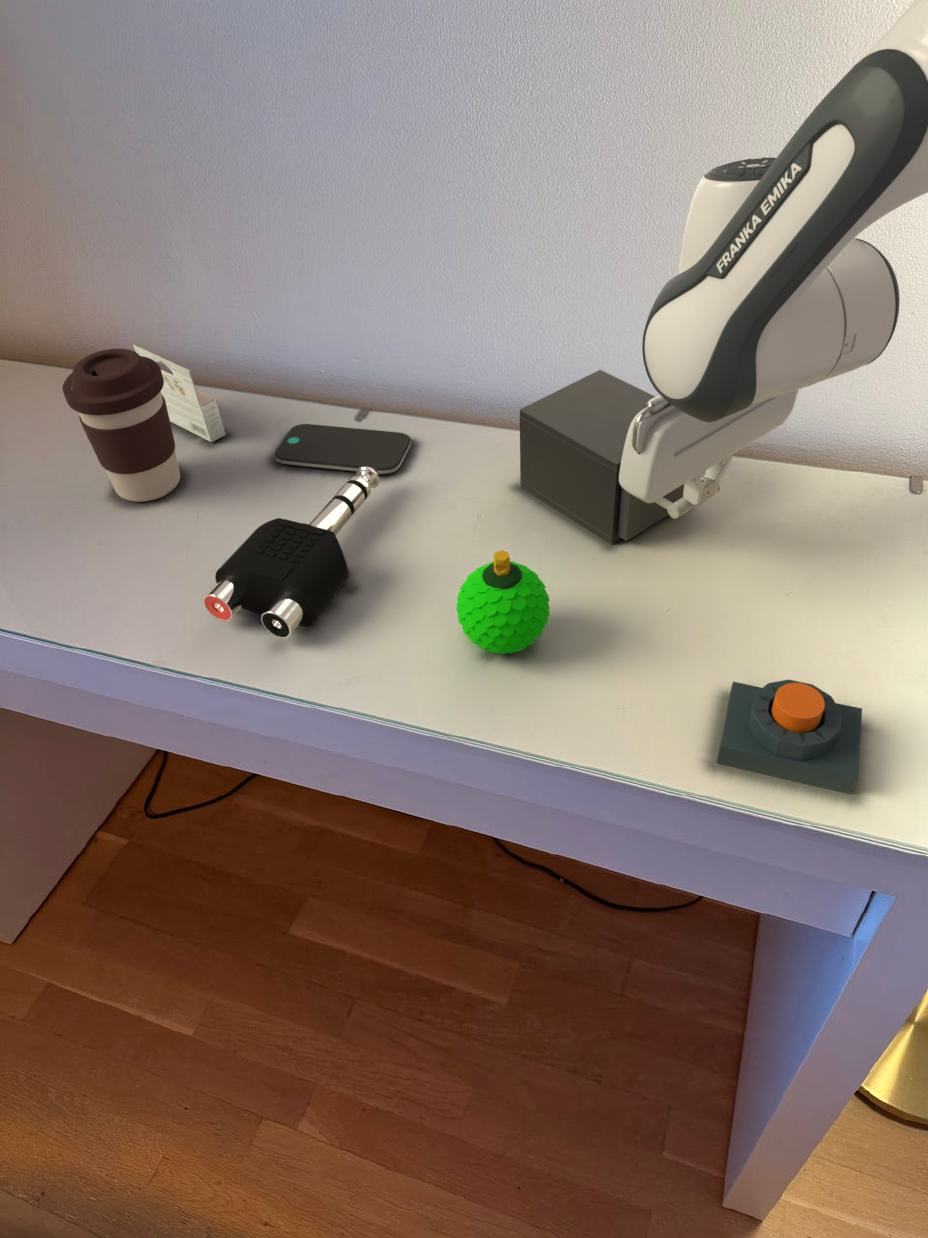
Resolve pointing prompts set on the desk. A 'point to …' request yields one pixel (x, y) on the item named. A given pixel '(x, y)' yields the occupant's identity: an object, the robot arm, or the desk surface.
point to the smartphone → (343, 448)
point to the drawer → (650, 511)
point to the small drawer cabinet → (580, 449)
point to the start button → (798, 707)
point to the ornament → (503, 606)
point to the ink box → (187, 401)
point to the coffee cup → (126, 421)
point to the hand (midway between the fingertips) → (699, 496)
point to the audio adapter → (290, 564)
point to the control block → (791, 740)
